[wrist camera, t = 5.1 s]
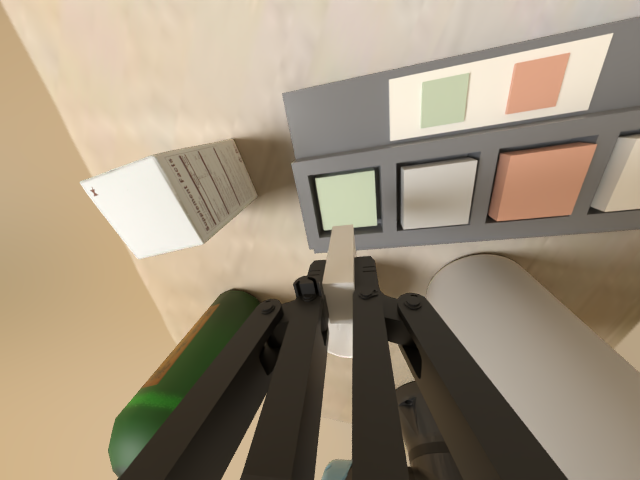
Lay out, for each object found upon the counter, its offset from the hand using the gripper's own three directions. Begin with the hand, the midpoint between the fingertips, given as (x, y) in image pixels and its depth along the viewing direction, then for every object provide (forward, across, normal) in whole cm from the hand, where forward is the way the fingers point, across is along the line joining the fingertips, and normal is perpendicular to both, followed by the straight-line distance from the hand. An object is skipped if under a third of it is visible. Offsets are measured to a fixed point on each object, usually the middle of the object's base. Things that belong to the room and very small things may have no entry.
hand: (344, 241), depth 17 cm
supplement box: (+12, +15, -4) cm, 20 cm away
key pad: (+12, -13, -2) cm, 18 cm away
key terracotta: (+9, -17, 0) cm, 19 cm away
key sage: (+10, 0, 0) cm, 10 cm away
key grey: (+9, -9, 0) cm, 12 cm away
